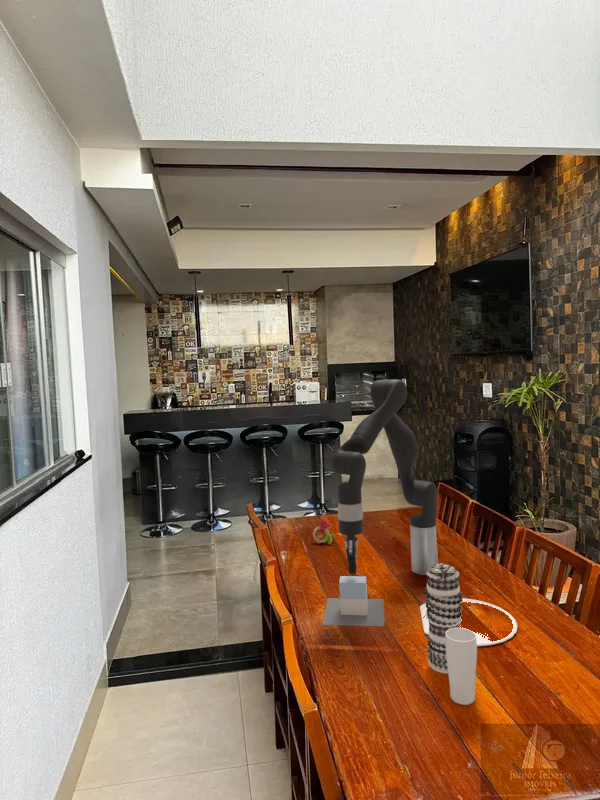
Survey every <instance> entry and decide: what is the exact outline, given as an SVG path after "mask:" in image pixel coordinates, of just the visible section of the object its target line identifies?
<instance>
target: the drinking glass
mask: <svg viewBox="0 0 600 800" xmlns="http://www.w3.org/2000/svg"><path fill="white" fill-rule="evenodd" d="M445 649H446V659H447V667H448V675H447V676H448V683H449V697H450V699H451V701H453V703H456V704H458V705H461V706H469V705H472V704H473V703H474V701H475V699H476V696H475V695H476V693H475V692H476V675H477V674H476V673H477V671H476V670H477V660H478V659H477V658H478V646H477V641H476V635H475V633H474V632H473V631H471V630H469V629H466V628H460V627H456V628H450V629H448V630H447V631H446V633H445Z"/></svg>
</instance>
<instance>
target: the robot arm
mask: <svg viewBox="0 0 600 800" xmlns="http://www.w3.org/2000/svg"><path fill="white" fill-rule="evenodd" d="M370 385H371V386H370V399H371V402H372V404H373V406H374V408H375V410H374V411H373V412H372V413H370V414H369V415H367V416H366V417H365V418H363V420H361V421H360V422H359V424H358V425H357V426H356V428H355V429H354V431H353V433H352V434H351V436H350V438H349V439H347V440H346V441H345V442H344V443H343V444H342V445H341V446H340V447H338V449H337V450H335V452H334V453H333V455H332V457H331V462H330V463H331V465H330V466H331V469H332V470H333V472H335V473H336V474H339V475H345V476H346V475H347V476H349V479H348V481H344V482H341V483H339V485H338V488H337V497H338V499H337V501H338V504H337V505H338V507H337V518H338V519H337V520H338V523H337V524H338V532H339V533H340V534H341V535H343V536H345V539H344V546H345V555H346V561H347V562H348V574H350V575H351V574H352V575H354V574H355V575H356V574H357V559H358V557H357V555H358V550H359V549H358V546H359V537H358V536H359V535H361V534H363V532H364V509H363V502H362V487H363V482H364V477H365V473H366V470H367V469H366V468H367V462H366V461H367V460H366V459H365V456H364V455H365V454H367V453H369V451H370V450H371V448H372V446H373V445H374V443H375V441H376V439H377V438H378V436H379V435H380V433H381V432H382V430H384V432H385V435H386V437H387V440H388V441H387V442H388V444H389V448H390V450H391V451H390V452H391V453H392V456H393V459H394V461H395V465H396V467H397V471H398V475H399V479H400V484H401V489H402V493H403V496H404V499H405V500H406V503H407V504H409V505H412V506H416V507H422V508H421V512H420V513H416V514H415V513H414V514H413V515H411V516H410V518H409V527H410V528H409V531H410V533H409V535H410V557H411V559H410V560H411V561H410V563H411V572H412V573H414V574H417V575H420V576H428V575H427V574H426V571H427V570H428V569H430V567H431V566H432V565H434V564H439V557H438V555H439V554H438V553H439V552H438V545H437V516H438V489H437V486H436V484H435V483H434V482H432V481H426V480H418V479H417V478H416V476H415V473H414V466H415V464H416V462H417V460H418V457H419V449H420V448H419V446H418V443H417V440H416V439H417V438H416V437H415V434H414V432H413V431H412V430H411V428H410V427H409V425H407V424H406V422H404V421H403V420H402V419H401V418H400V417H399V416H398V415H397V412H398V411H399V410H400V409H401V407H402V406H403V405H404V404H405V403H406V402H405V401H406V400H407V397H408V389H407V384H406V383H405V381H403V380H401V379H396V378H395V379H378V380H374V381H373V382H372V383H371V384H370ZM357 535H358V536H357Z"/></svg>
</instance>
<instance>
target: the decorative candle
mask: <svg viewBox="0 0 600 800" xmlns="http://www.w3.org/2000/svg"><path fill="white" fill-rule="evenodd" d="M426 574H427V575H426V576H427V583H426V587H424V588H423V589H424V594H425V596H424V598H425V600H424V601H425V603H426V608H427V610H426V612H427V613H426V614H427V619H428V621H429V629H428V632H429V634H428V635H427V640H428V641H427V646H428V648H427V654H428V655H427V659H428V662H427V663H428V666H429V667H430V668H431V669H432V670H433V671H435V672H437V673H442V674H448V667H447V659H446V649H445V633H446V631H447V630H448V629H450V628H456V627H460V623H461V621H462V619H461V616H462V612H461V610H462V606H461V605H460V603H461V602H462V596H463V592H462V591H461V589H460V588H461V587H460V584H459V581H460V578H459V576H460V572H459V571H458V570H456V569H455V567H454V566H453V565H451V564H448V563H438V564H434V565H432V566H431V567H430V569H428V570H427V571H426ZM428 606H429V607H428Z"/></svg>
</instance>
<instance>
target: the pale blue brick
mask: <svg viewBox="0 0 600 800" xmlns="http://www.w3.org/2000/svg"><path fill="white" fill-rule="evenodd" d="M338 585H339V590H338V591H339V598H340V599H368V588H367V576H364V575H363V576H355V575H353V576H352V575H349V576H348V575H344V576H343V575H340V576H339V582H338Z"/></svg>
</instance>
